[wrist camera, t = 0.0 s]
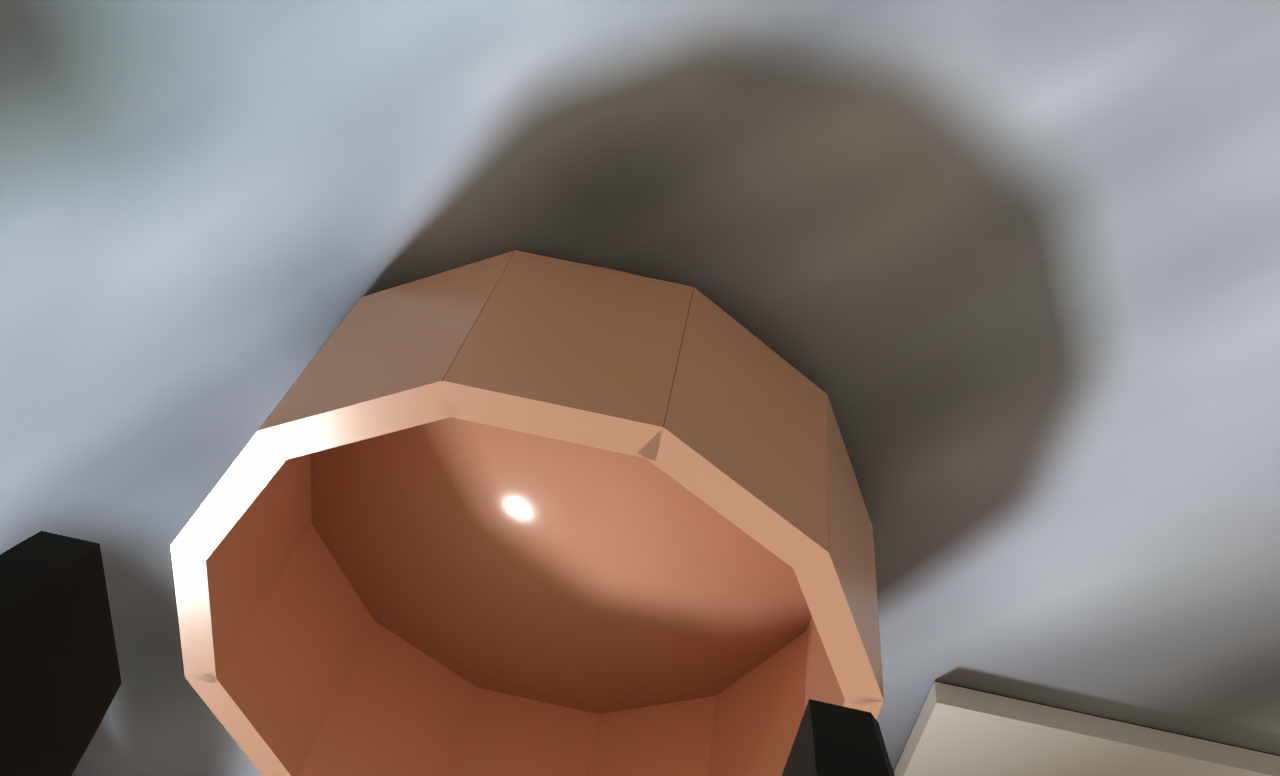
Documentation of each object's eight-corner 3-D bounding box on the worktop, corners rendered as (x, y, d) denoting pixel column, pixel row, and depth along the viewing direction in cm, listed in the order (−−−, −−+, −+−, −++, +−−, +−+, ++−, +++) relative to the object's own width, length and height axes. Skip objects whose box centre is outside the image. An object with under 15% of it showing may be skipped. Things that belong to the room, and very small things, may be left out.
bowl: (785, 751, 26) (779, 954, 22) (299, 645, 26) (201, 823, 22) (938, 321, 19) (970, 491, 15) (288, 187, 20) (145, 318, 16)
